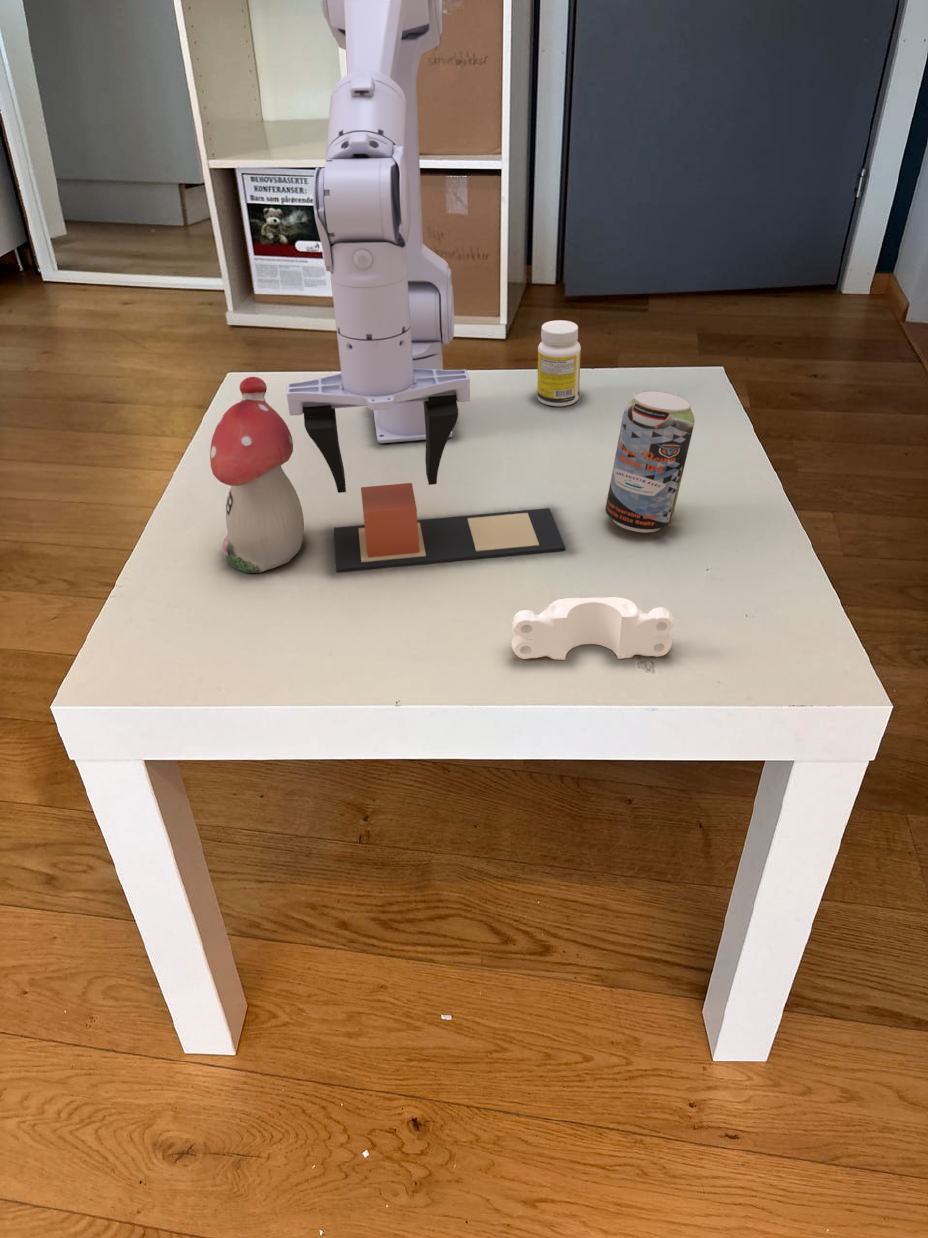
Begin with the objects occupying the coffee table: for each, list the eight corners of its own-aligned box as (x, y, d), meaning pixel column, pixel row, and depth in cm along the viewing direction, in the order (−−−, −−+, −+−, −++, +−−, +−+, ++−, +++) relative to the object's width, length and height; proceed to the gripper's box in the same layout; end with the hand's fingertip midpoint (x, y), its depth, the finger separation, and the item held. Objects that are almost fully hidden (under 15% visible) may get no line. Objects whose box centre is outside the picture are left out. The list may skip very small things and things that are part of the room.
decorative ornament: (267, 519, 91) (241, 365, 83) (327, 532, 89) (308, 376, 80) (207, 570, 85) (172, 409, 76) (271, 586, 82) (243, 422, 74)
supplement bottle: (551, 386, 114) (553, 315, 109) (586, 395, 112) (590, 323, 107) (529, 401, 111) (529, 328, 106) (564, 410, 109) (567, 337, 104)
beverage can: (591, 526, 89) (598, 402, 82) (638, 495, 93) (648, 375, 86) (649, 550, 85) (662, 423, 78) (695, 517, 90) (711, 394, 82)
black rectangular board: (334, 530, 90) (334, 526, 89) (549, 510, 91) (549, 506, 91) (336, 572, 84) (336, 568, 84) (565, 550, 86) (565, 546, 85)
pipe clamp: (666, 637, 75) (671, 595, 73) (671, 657, 73) (677, 615, 71) (510, 640, 76) (510, 598, 73) (511, 660, 74) (511, 618, 71)
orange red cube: (365, 530, 88) (360, 486, 86) (414, 526, 89) (411, 482, 86) (367, 557, 85) (363, 512, 82) (419, 552, 85) (416, 507, 83)
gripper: (277, 353, 72) (301, 514, 80) (474, 338, 73) (477, 498, 81) (279, 320, 77) (301, 473, 85) (461, 306, 78) (466, 459, 87)
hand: (386, 483), depth 84 cm, fingers open, 7 cm apart
